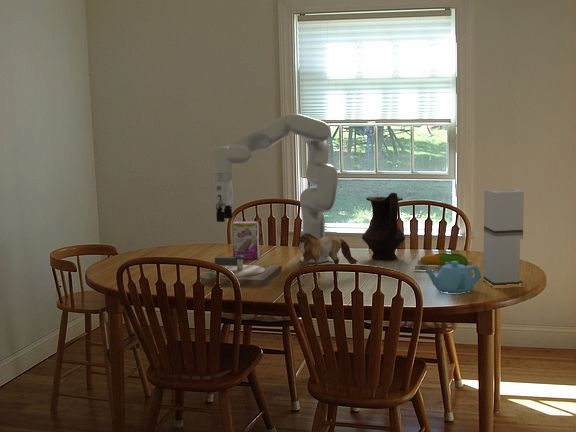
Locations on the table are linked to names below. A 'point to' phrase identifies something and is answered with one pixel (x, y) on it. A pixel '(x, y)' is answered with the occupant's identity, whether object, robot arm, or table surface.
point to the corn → (444, 258)
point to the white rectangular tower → (503, 235)
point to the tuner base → (244, 275)
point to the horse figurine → (323, 250)
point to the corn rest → (431, 266)
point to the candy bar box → (246, 239)
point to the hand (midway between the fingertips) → (224, 219)
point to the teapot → (455, 277)
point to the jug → (384, 228)
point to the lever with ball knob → (231, 261)
